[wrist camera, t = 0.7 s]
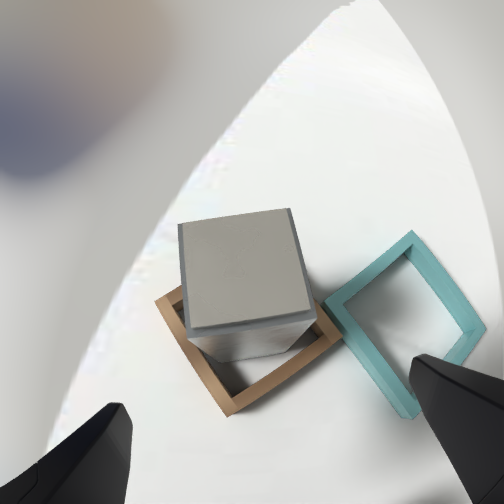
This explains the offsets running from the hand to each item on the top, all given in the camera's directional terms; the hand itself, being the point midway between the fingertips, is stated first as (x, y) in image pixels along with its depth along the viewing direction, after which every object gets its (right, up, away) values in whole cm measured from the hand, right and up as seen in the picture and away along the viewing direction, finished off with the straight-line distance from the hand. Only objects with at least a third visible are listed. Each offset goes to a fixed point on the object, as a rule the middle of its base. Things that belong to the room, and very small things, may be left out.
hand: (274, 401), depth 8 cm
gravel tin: (-1, -2, +15) cm, 15 cm away
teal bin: (+13, -2, +15) cm, 20 cm away
